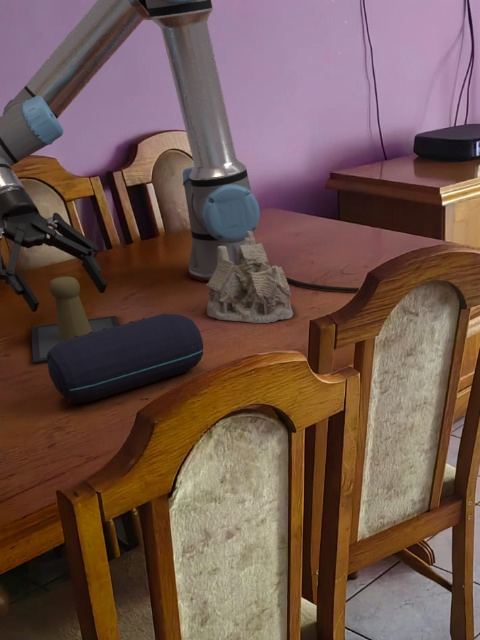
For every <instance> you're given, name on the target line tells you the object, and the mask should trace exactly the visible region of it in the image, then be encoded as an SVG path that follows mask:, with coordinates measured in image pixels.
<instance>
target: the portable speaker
mask: <svg viewBox="0 0 480 640" xmlns="http://www.w3.org/2000/svg"><path fill="white" fill-rule="evenodd" d="M203 355H204V342H203V337H202V334H201V331H200V329H199V327H198V326H197V325H196V323H195V322H194V321H193V320H192V319H191V318H189V317H188V316H186V315H182V314H178V313H161V314H157V315H153V316H149V317H142V318H141V319H138V320H135V321H129V322H127V323H123V324H119V325H116V326H115V327H111V328H108V329H106V328H104V329H103V330H100V331H96V332H90V333H88V334H85V335H81V336H75V337H74V338H70V339H66V340H63V341H61V342H60V343H58V344H56V345H55V346H54V347H53V348H52V349H50V350H49V351H48V354H47V359H48V362H47V370H48V375H49V377H50V380H51V381H52V383H53V385H54V388H55V390H57V392H58V393H59V394H60V395H61V396H62V397H63V398H64V399H65V400H66V402H68V403H69V404H76V405H78V404H85V403H90V402H94V401H98V400H101V399H103V398H106V397H109V396H113V395H116V394H119V393H123V392H126V391H129V390H133V389H136V388H138V387H142V386H144V385H145V386H146V385H148V384H151V383H155V382H158V381H161V380H164V379H167V378H170V377H171V378H172V377H174V376H178V375H180V374H183V373H186V372H187V371H189V370H191V369H193V368H195V367H196V366H197V365H198V364H199V362H201V361H202V357H203Z"/></svg>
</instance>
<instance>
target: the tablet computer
mask: <svg viewBox="0 0 480 640" xmlns="http://www.w3.org/2000/svg"><path fill="white" fill-rule="evenodd" d="M87 319H88V322H89V324H90V327H91V330H92V332H96V331H100V330H103V329H104V328H106V329H108V328H111V327H115V326H116V325H120V324H119V321H118V318H117V316H116V315H111V316H104V317H95V318H90V319H89V318H87ZM30 329H31V330H30V331H31V347H32V349H31V350H32V362H33V363H32V364H33V365H38V364H44V363H48V359H47V354H48V351H49V350H50V349H52V348H53V347H54V346H55V345H56V344H58V343H60V342H61V340H60V337H59V328H58V323H51V324H44V325H38V326H37V325H36V326H31V327H30Z"/></svg>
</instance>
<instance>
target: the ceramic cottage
mask: <svg viewBox="0 0 480 640" xmlns="http://www.w3.org/2000/svg"><path fill="white" fill-rule="evenodd" d="M238 256H239V258H238V261H239V263H240V265H237V266H236V265H235V263H233V262H231V261H229V256H228V253H227V248H226V246H219V247H218V259H217V260H218V265H217V268H216V270H215V272H214V274H212V277H211V279H210V280H209V282H207V283H206V286H207V288H209V290H208V299H209V301H208V302H207V303H206V307H207V308H206V311H207V312H206V315H208V316H209V317H210V318H213V319H216V320H219V321H233V322H244V323H253V324H270V323H274V322H278V321H281V320H282V321H283V320H288V319H289V320H290V319H291V318H292V317H293V316H294V311H293V308H292V306H291V301H290V296H291V295H292V292H291V290H290V289H291V288H290V285H289V282H287V280H286V276H285V272H284V270H283V268H282V266H279V267H278V265H272V266H271V265H269V259H268V255H267V253H266V251H265V248H264V245H263V243H262V242H260V243H257V242H256V240H255V236H254V232H253V233H252V232H251V231H247V237H245V238H244V245H241V246H239V254H238Z"/></svg>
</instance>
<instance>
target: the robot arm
mask: <svg viewBox="0 0 480 640" xmlns="http://www.w3.org/2000/svg"><path fill="white" fill-rule="evenodd" d="M213 10H214V9H213V3H212V0H96V2H95V3H94V4H93V5H92V6H91V7H90V9H88V11H87V12H86V13H85V14H84V16H83V17H82V18H81V19H80V21H78V23H77V24H76V25H75V26H74V27H73V29H71V31H70V32H69V34H67V36H66V37H65V38H64V39H63V40H62V42H60V44H59V45H58V46H57V47H56V48H55V50H54V51H53V52H52V53H51V54H50V56H48V58H47V59H46V60H45V61H44V63H43V64H42V65H41V66H40V67H39V68H38V70H37V71H36V72H35V73H34V74H33V76H32V77H31V78H30V79H29V80H28V81H27V82H26V84H25V86H24V87H22V89H21V90H20V91H19V92H18V93H17V94H16V95H15V97H14V98H13V99H11V100H9V101H8V102H7V103H6V105H5V106H4V108H3V112H2V115H1V116H0V242H1V241H2V239H3V237H4V238H6V239H7V240H8V241H9V240H10V241H11V242H13V244H12V248H11V251H10V255H9V258H8V262H7V266H6V269H5V268H3V259H2V246H1V243H0V281H3V282H4V283H5V284H6V285H9V286H10V287H11V289H12V291H13V292H14V293H15V294H16V295H17V296H22V298H23V299H24V301H25V302H26V304H27V305H28V307H29V309H30V311H31V312H32V313H34V312H37V311H38V308H39V306H40V305H39V304H40V301H39V299H38V298H37V297H36V295H35V293H34V292H33V290H32V289H31V288H30V286H29V284H28V283H27V281H26V279H25V278H24V276H23V275H22V274H21V272H20V271H17V272H15V270H16V266H17V263H18V259H19V255H20V251H21V247H23V248H26V249H31V248H33V247H40V246H43V244H44V245H46V246H48V247H54V248H56V249H58V250H60V251H62V252H64V253H66V254H68V255H70V256H72V257H74V258H76V259H78V260H80V261H81V262H82V263H81V267H82V268H83V269H84V271H85V273H86V274H87V275H88V277H89V278H90V280H91V281H92V283H93V284H94V286H95V288H96V289H97V291H98V292H99V294H103V293H105V291H106V288H107V285H108V284H107V283H108V282H107V281H106V280H105V279H104V277H103V276H102V273H101V272H102V267H101V266H100V265H99V263H98V261H97V260H96V257H97V255H98V252H99V250H100V247H99V245H98V244H96V243H95V242H93V241H92V240H91V239H90V238H88V237H87V236H85V234H83V233H81V232H79V230H77V229H76V228H75V227H73V226H72V225H70V224H69V223H67V222H66V221H65V219H64V218H63V217H62V216H61V215H60V214H59V213H58V212H53V213H52V216H50V217H47V218H45V217H44V216H42V215H41V213H40V211H39V208H38V206H37V205H36V204H35V202H34V201H33V198H32V197H31V195H30V194H29V193H28V192H27V190H26V188H25V186H24V185H23V183H22V182H21V180H20V179H19V178H18V176H17V174H16V173H15V171H14V170H13V168H12V167H13V166H14V165H16V164H19V162H20V161H22V160H24V159H26V158H28V157H29V156H32V154H35V153H36V152H38V151H40V150H42V149H43V148H45V147H47V146H50V145H53V143H54V142H55V141H56V140H58V139H59V138H61V137H62V136H63V135H64V128H63V127H62V125H61V123H60V122H59V120H58V118H59V117H60V116H61V115H62V114H63V113H64V111H65V110H66V109H67V108H68V107H69V106H70V104H72V102H73V101H74V100H75V99H76V98H77V97H78V95H79V94H80V93H81V92H82V91H83V90H84V89H85V88H86V87H87V85H88V84H89V83H90V82H91V81H92V79H93V78H94V77H95V76H96V75H97V74H98V72H100V70H101V69H102V68H103V67H104V66H105V64H106V63H107V62H108V61H109V60H110V59H111V58H112V56H114V54H115V53H116V52H117V51H118V50H119V49H120V47H122V45H123V44H124V43H125V41H127V39H128V38H129V37H130V36H131V34H133V32H134V31H135V30H136V29H137V28H138V27H139V25H141V23H142V22H143V21H152V22H154V23H155V24H156V25H157V26H158V27H159V28H160V30H161V34H162V38H163V39H162V40H163V43H164V47H165V50H166V55H167V59H168V63H169V67H170V71H171V75H172V79H173V84H174V87H175V92H176V96H177V101H178V104H179V109H180V112H181V116H182V120H183V124H184V125H183V126H184V130H185V133H186V137H187V141H188V145H189V149H190V154H191V158H192V162H193V166H191V167H187V168H185V169H184V170H183V171H182V186H183V188H184V194H185V201H186V206H187V214H188V219H189V220H188V221H189V226H190V232H191V233H190V234H191V238H192V240H191V241H192V242H191V248H190V254H189V255H190V256H189V261H188V273H189V276H190V278H192V279H193V280H197V281H201V282H207V283H209V280H210V279H211V277H212V274H214V272H215V270H216V268H217V265H218V260H217V259H218V247H219V246H226V248H227V253H228V256H229V261H231V262H233V263H235V265H236V266H237V265H240V263H239V261H238V258H239V256H238V254H239V246H241V245H244V238H245V237H247V231H251V232H252V233H253V234H254V233H255V231H256V229H257V228H258V226H259V222H260V216H261V212H260V211H261V210H260V206H259V202H258V200H257V198H256V197H255V194H254V193H253V192H252V188H251V185H250V180H249V179H250V178H249V174H248V171H247V167H246V166H247V165H245V164H244V163H243V162H241V161H240V160H239V159H238V158H237V155H236V150H235V145H234V140H233V135H232V131H231V126H230V122H229V117H228V113H227V108H226V104H225V99H224V93H223V90H222V83H221V80H220V75H219V71H218V67H217V61H216V57H215V52H214V48H213V42H212V39H211V34H210V29H209V24H208V20H209V17H210V16H211V14H212V12H213ZM47 236H49V237H47ZM285 277H286V276H285ZM286 280H287V283H289V284H293V285H296V286H300V287H305V288H311V289H317V290H324V291H333V292H334V291H337V292H356V293H358V292H357V291H358V290H359V288H360V287H346V286H332V285H322V284H315V283H309V282H304V281H299V280H296V279H292V278H290V277H286Z"/></svg>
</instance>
